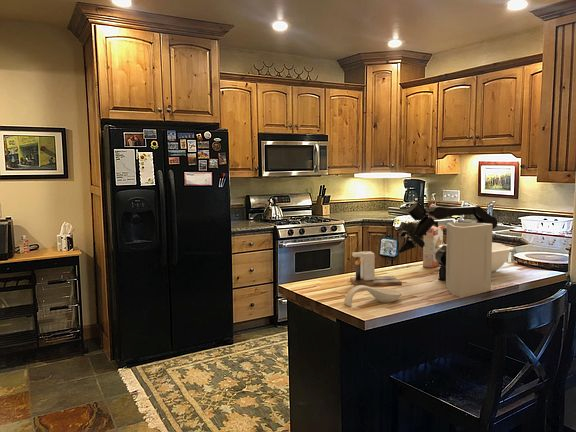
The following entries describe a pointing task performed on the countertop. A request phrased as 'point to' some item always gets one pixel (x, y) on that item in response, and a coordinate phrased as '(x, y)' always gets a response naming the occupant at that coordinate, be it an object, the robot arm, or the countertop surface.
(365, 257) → the white block with lip
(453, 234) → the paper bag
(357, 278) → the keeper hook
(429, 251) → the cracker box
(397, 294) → the spoon rest
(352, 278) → the walnut rail
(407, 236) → the robot arm
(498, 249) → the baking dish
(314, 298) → the countertop surface
